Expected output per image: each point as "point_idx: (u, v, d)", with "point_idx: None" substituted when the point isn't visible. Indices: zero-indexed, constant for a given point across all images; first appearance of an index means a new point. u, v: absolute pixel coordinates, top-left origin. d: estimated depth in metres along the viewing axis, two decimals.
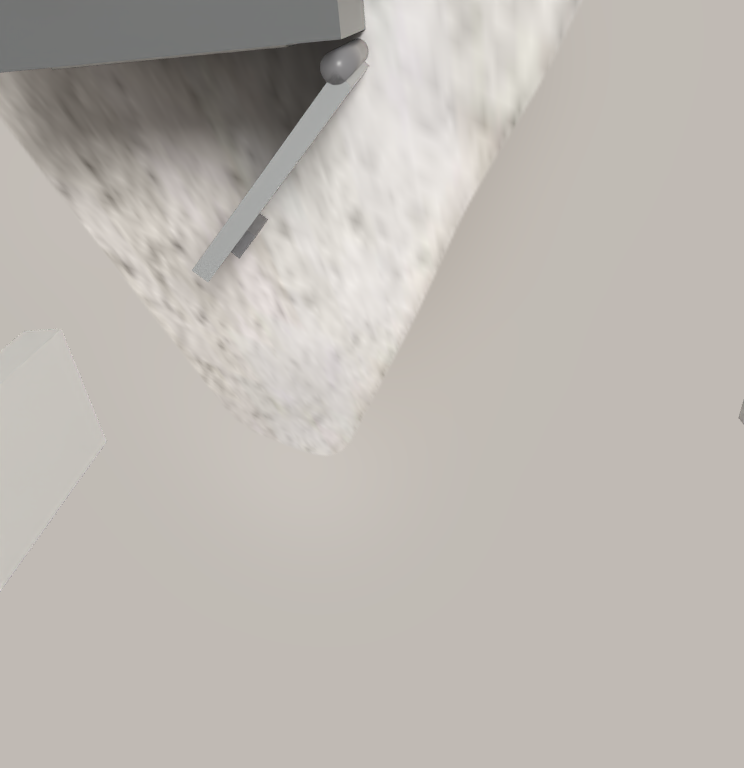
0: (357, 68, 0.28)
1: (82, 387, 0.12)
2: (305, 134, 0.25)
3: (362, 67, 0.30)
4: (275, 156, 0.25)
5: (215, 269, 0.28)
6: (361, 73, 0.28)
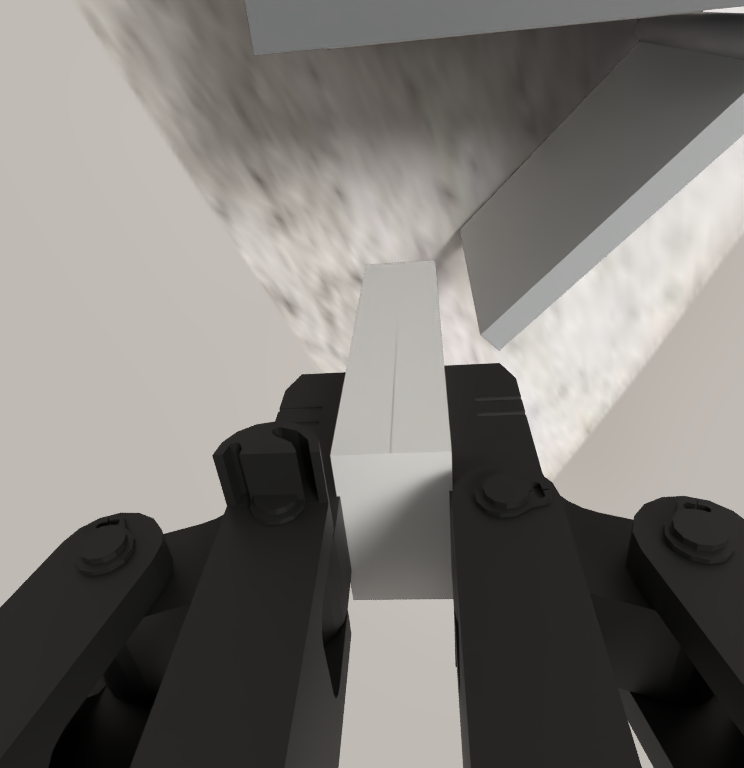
0: None
1: None
2: (711, 146, 0.17)
3: None
4: (654, 177, 0.17)
5: (514, 334, 0.20)
6: None
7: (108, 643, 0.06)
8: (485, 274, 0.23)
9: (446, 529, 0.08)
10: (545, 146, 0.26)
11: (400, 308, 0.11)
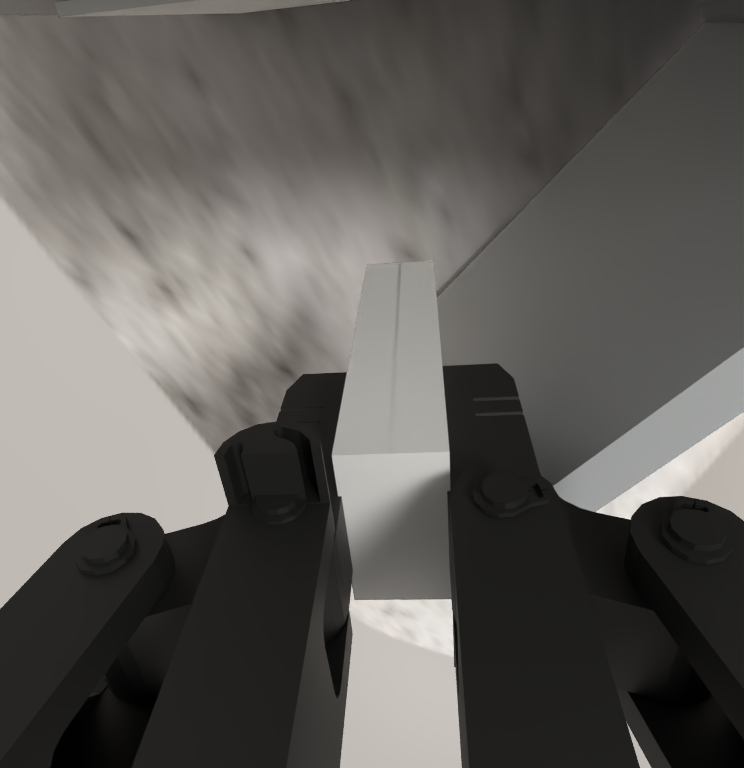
0: None
1: None
2: None
3: None
4: None
5: None
6: None
7: (110, 643, 0.06)
8: None
9: (444, 529, 0.08)
10: (554, 188, 0.17)
11: (398, 308, 0.11)
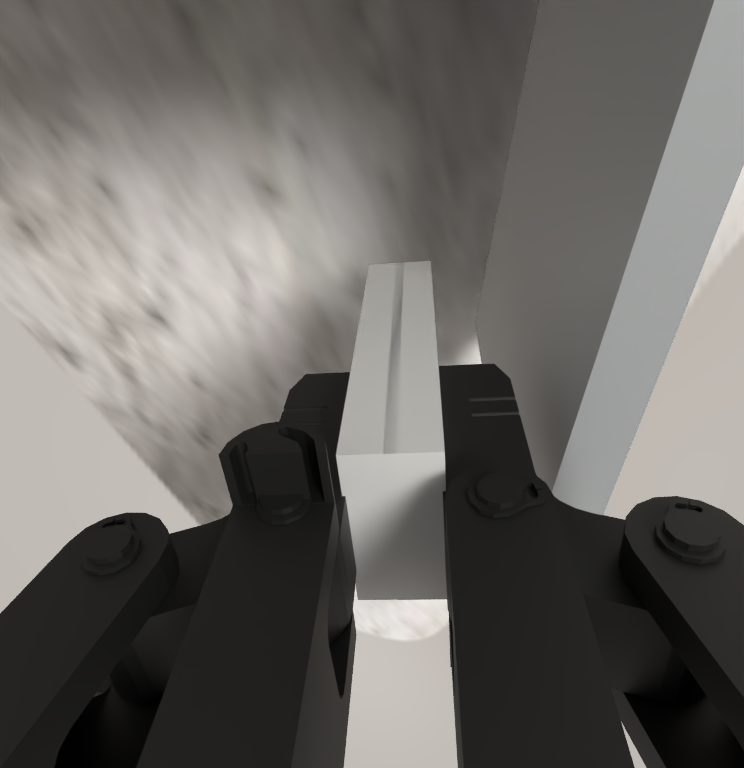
0: None
1: None
2: None
3: None
4: (654, 198, 0.07)
5: None
6: None
7: (114, 643, 0.06)
8: None
9: (440, 529, 0.08)
10: (511, 160, 0.16)
11: (395, 308, 0.11)
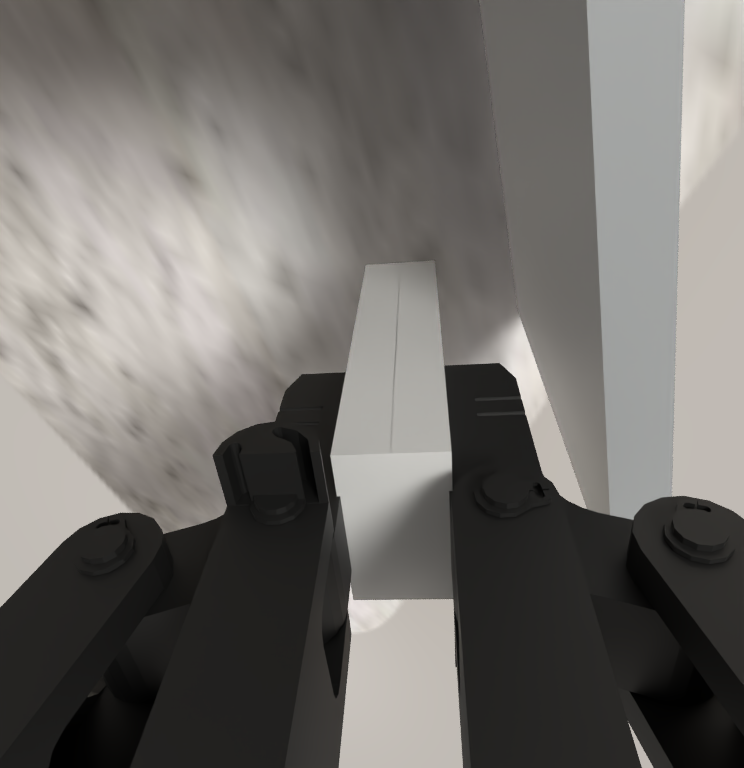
0: None
1: None
2: None
3: None
4: (600, 170, 0.07)
5: None
6: None
7: (108, 643, 0.06)
8: (561, 413, 0.13)
9: (446, 529, 0.08)
10: (499, 143, 0.16)
11: (400, 308, 0.11)
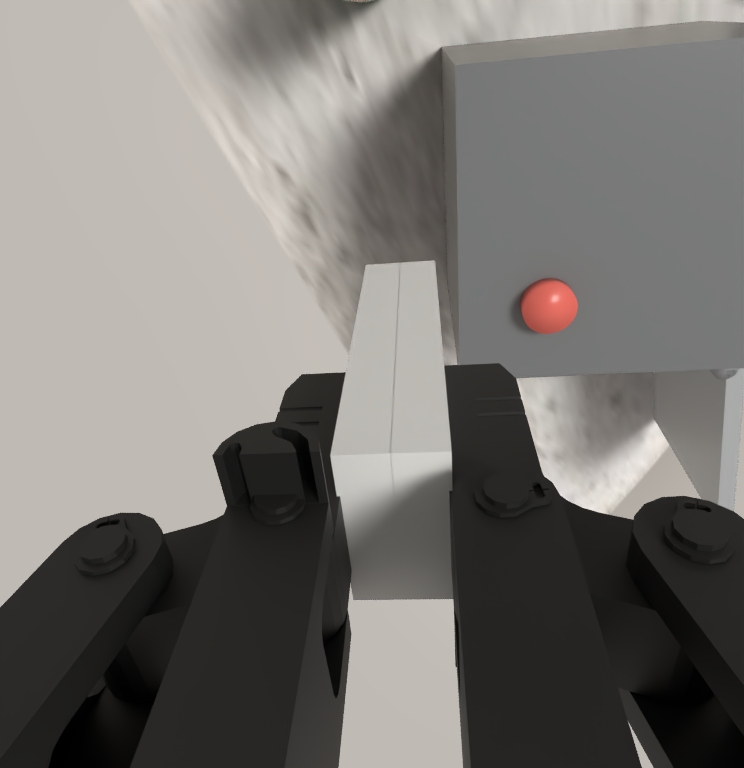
0: None
1: None
2: (734, 411, 0.32)
3: None
4: (723, 435, 0.32)
5: None
6: None
7: (108, 643, 0.06)
8: (691, 472, 0.39)
9: (446, 529, 0.08)
10: None
11: (400, 308, 0.11)
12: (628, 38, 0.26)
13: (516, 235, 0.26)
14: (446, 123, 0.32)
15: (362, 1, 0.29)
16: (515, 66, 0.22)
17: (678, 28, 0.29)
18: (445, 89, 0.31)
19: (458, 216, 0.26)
